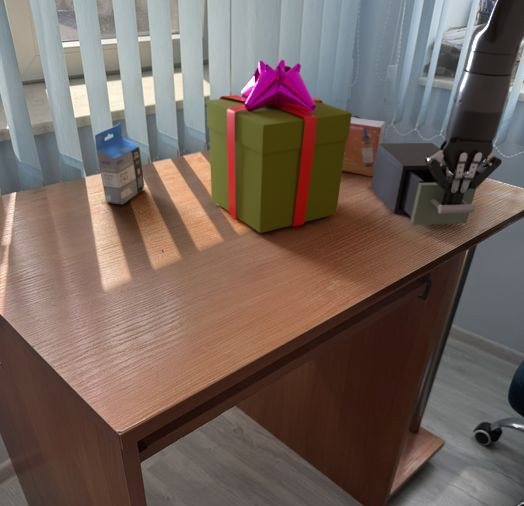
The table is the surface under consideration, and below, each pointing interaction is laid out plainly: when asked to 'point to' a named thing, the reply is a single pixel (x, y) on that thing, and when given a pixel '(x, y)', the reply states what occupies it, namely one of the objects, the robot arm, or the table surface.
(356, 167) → the small box
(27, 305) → the table surface
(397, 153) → the cabinet
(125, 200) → the label tape box
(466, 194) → the drawer
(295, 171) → the gift box
